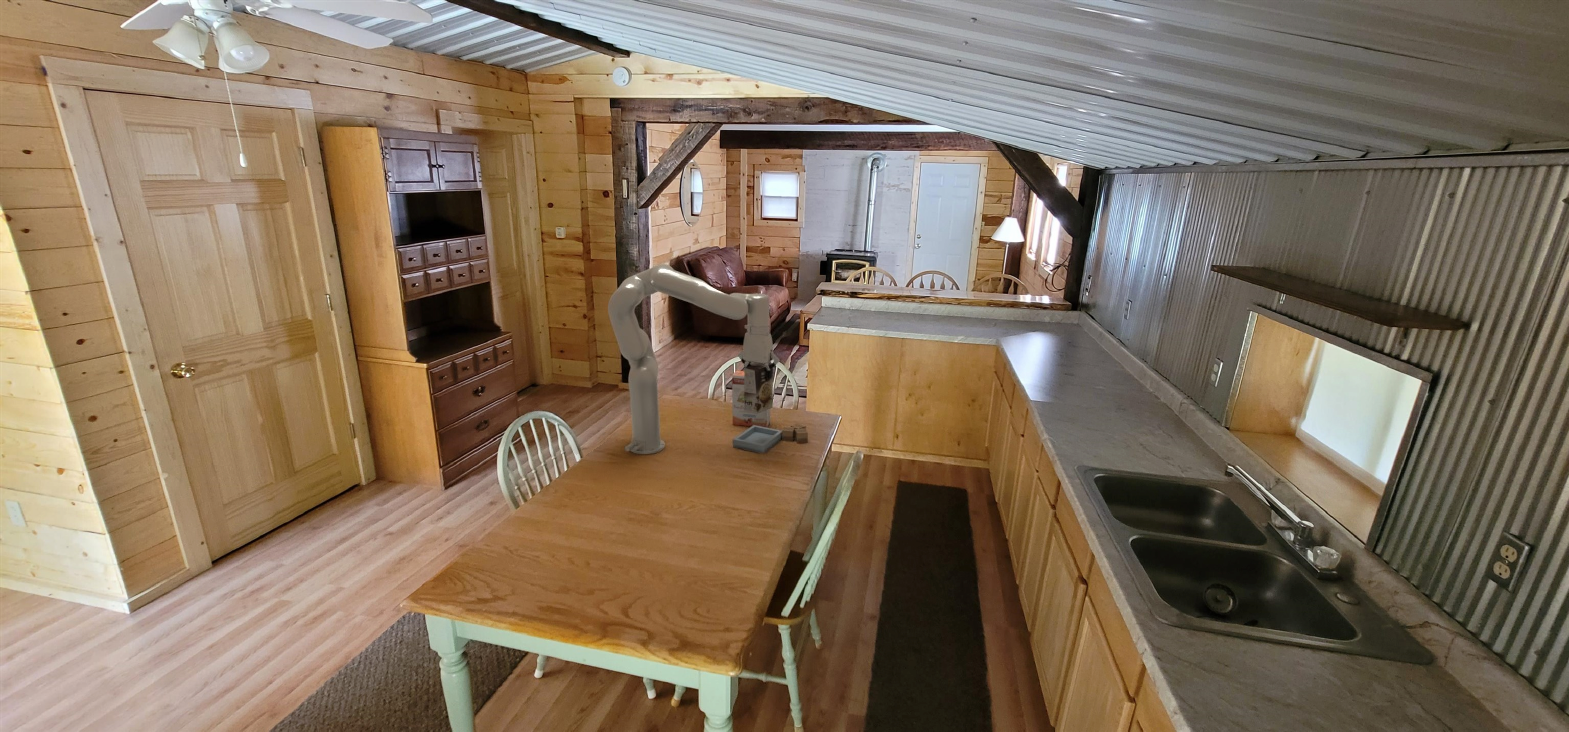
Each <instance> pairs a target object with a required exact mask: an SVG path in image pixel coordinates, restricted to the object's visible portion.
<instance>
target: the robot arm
mask: <svg viewBox="0 0 1569 732" xmlns="http://www.w3.org/2000/svg"><path fill="white" fill-rule="evenodd" d="M621 282H622V283H621V284H620V285H619V287H618V288H617V289H616V290H615V291H614V292H613V293H612V295H611V296H610V299H609V301H608V303H607V312H608V313H607V314H608V317H609V320H610V324H611V327H612V329H613V333H614V336H615V338H616V342H617V344H618V347H619V351H620V353H621V355H622V356H623V358H624V359H626V360H627V361H628V364H629V366H630V369H629V373H628V389H629V390H628V391H629V398H630V401H629V402H630V411H631V426H632V428H631V430H632V438H631V442H630V443H629V444H628V445H626V446H624V450H625V452H629V451H630V452H631V453H633V454H636V455H652V454H656V453H659V452H661V451H663V450H664V449H665V448H666V443H665V441H664V440H662V439H661V425H660V403H659V391H658V378H659V377H658V376H659V364H658V361H657V359H656V355H655V352H654V349H653V346H652V343H651V340H650V338H649V336H648V334H647V332H646V331H644V329H642V328H641V327H640V325H639V322H638V319H637V315H636V313H635V309H636V307H637V306H638V305H640V304H641V302H642V301H643V300H644V298H647V297H649V296H651V295H653V294H655V293H658V292H659V293H662V294H663V295H667V296H670V297H674V298H676V299H679V300H682V301H685V302H688V303H690V304H693V305H695V306H697V307H699V308H702V309H704V310H706V311H708V312H710V313H713V314H715V315H718V316H722V317H724V318H728V319H729V320H730V319H732V320H733V321H734V320H737V321H738V320H742V319H744V318H745V317H746V316H747V324H745V325H744V329H745V330H746V332H745V334H744V338H743V347H742V348H743V349H742V350H741V351H740V352H739V353H738V354H737V357H738V358H739V359H740V361H741V363H742V364H743V367H744V368H746V367H749V366H752V365H753V364H752V363H756V364H758V363H762V364H765V366H766V369H767V370H765V381H769V380H770V379H771V378H772V368H773V369H774V368H775V367H776V366H777V365H778V364H779V362H780V361H781V360H780V358H779V357H778V356H777V355H776V354H775V353H774V345H773V337H772V335H771V332H770V297H769V295H768V294H764V293H751V294H750V293H742V292H733V293H730V294H728V293H724V292H722V291H720V290H717V288H714V287H712V286H711V285H710V284H708V283H707V282H705V281H704V280H702V279H700V278H698V277H694V276H692V275H689V274H686V273H683V272H680V271H677V270H675V269H674V268H673V267H672V266H671V265H669V264H665V263H661V264H657V265H655V266H653V267H650V268H648V269H646V270H643V271H640V272H638V273H636V274H634V275H631V276H629V277H627V278H626V279H624V280H622V281H621ZM772 361H773V362H772Z"/></svg>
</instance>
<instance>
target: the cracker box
mask: <svg viewBox="0 0 1569 732" xmlns="http://www.w3.org/2000/svg"><path fill="white" fill-rule="evenodd" d="M731 378H732V379H731V380H732V381H731V382H732V384H731V385H732V387H731V389H732V390H731V391H732V392H731V393H732V395H731V397H732V400H731V401H732V409H731V410H732V411H731V412H732V413H731V414H732V425H733V426H743V427H752V426H753V425H756V426H761V427H766V428H769V427H768V426H769V425H770V423H771V409H768V410H766V411H764V412H761V413H759V414H754V413H751V412H748V411H745V410H744V370H735V372H734V373H733V374H732V377H731Z"/></svg>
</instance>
